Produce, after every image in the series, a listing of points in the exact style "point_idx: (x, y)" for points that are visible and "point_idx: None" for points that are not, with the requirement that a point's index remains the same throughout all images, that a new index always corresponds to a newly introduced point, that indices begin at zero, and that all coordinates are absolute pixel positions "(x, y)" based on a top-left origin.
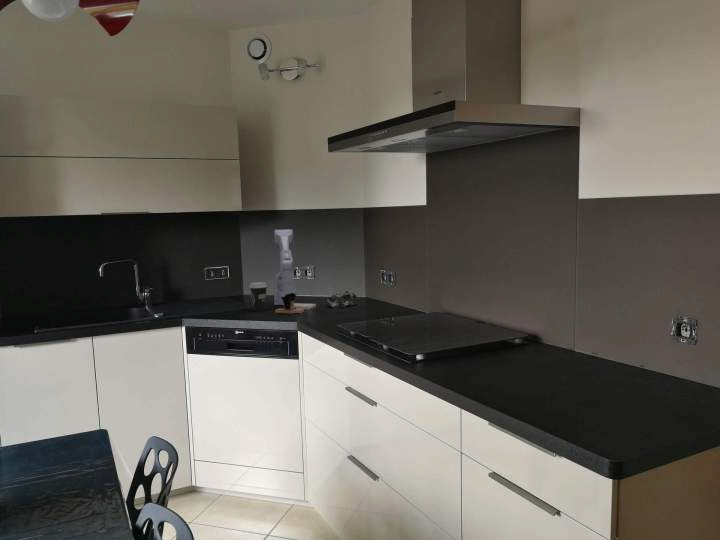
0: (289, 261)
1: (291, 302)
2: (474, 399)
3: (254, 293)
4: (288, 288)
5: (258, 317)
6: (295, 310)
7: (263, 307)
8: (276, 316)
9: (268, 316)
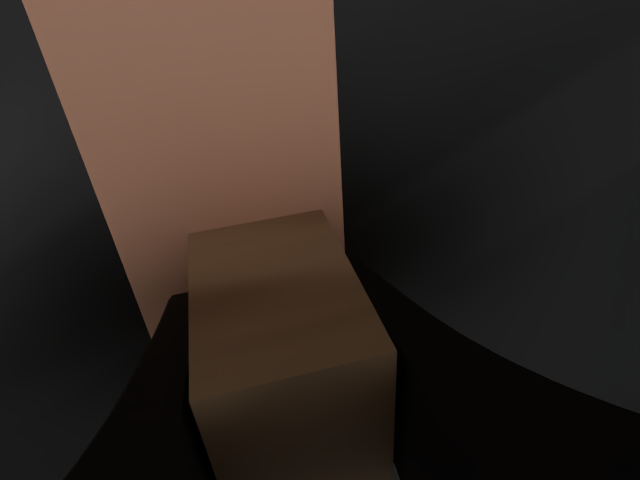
0: None
1: (357, 337)
2: None
3: None
4: None
5: (610, 374)
6: (313, 108)
7: None
8: (573, 246)
9: (565, 329)
